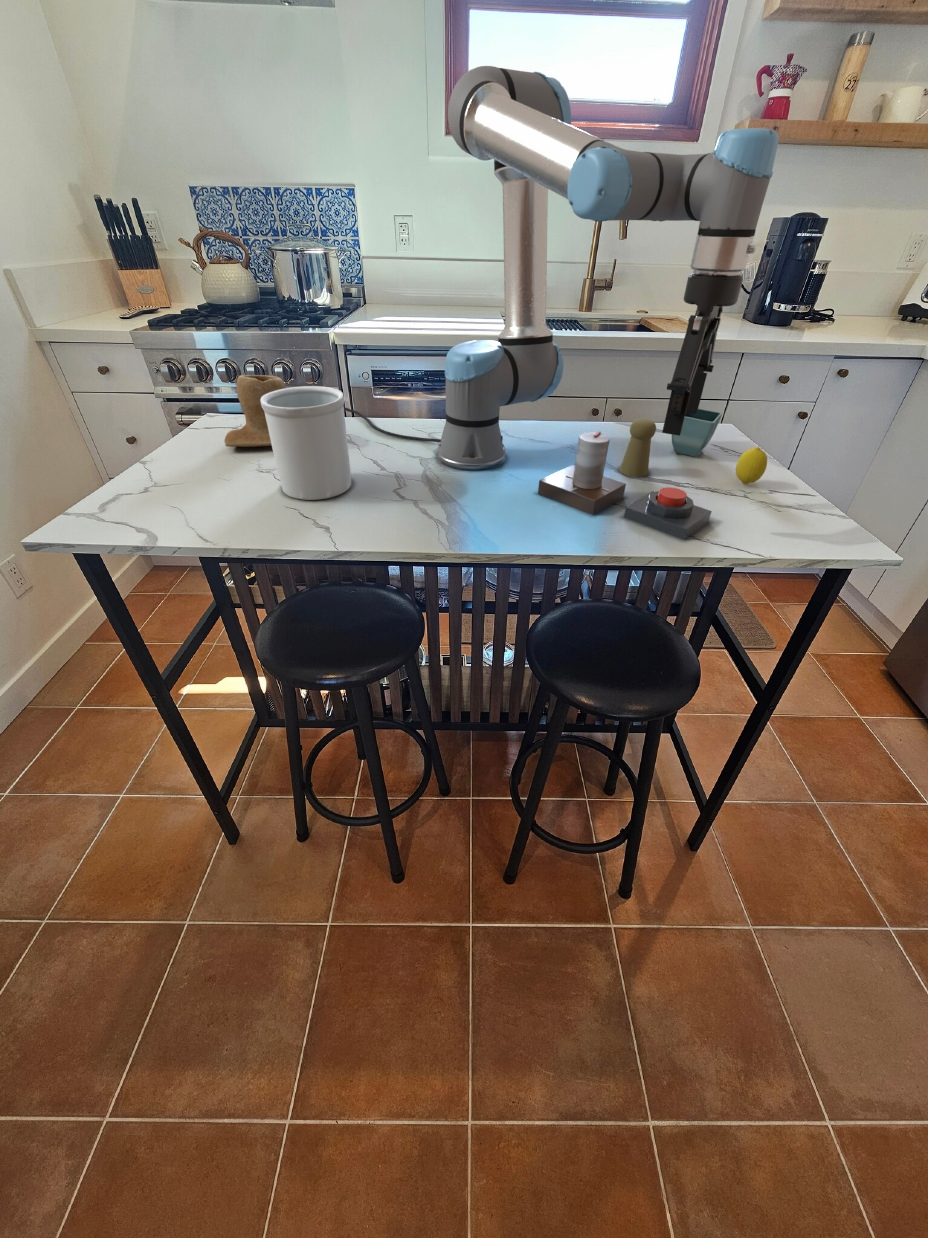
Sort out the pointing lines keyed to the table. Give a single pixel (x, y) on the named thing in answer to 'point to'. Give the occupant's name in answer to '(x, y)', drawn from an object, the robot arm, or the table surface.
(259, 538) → the table surface
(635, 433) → the olive pawn figure
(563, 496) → the control panel
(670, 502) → the button
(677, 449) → the flower pot
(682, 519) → the button box
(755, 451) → the lemon
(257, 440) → the tan felt boot
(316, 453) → the utensil holder
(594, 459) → the knob
